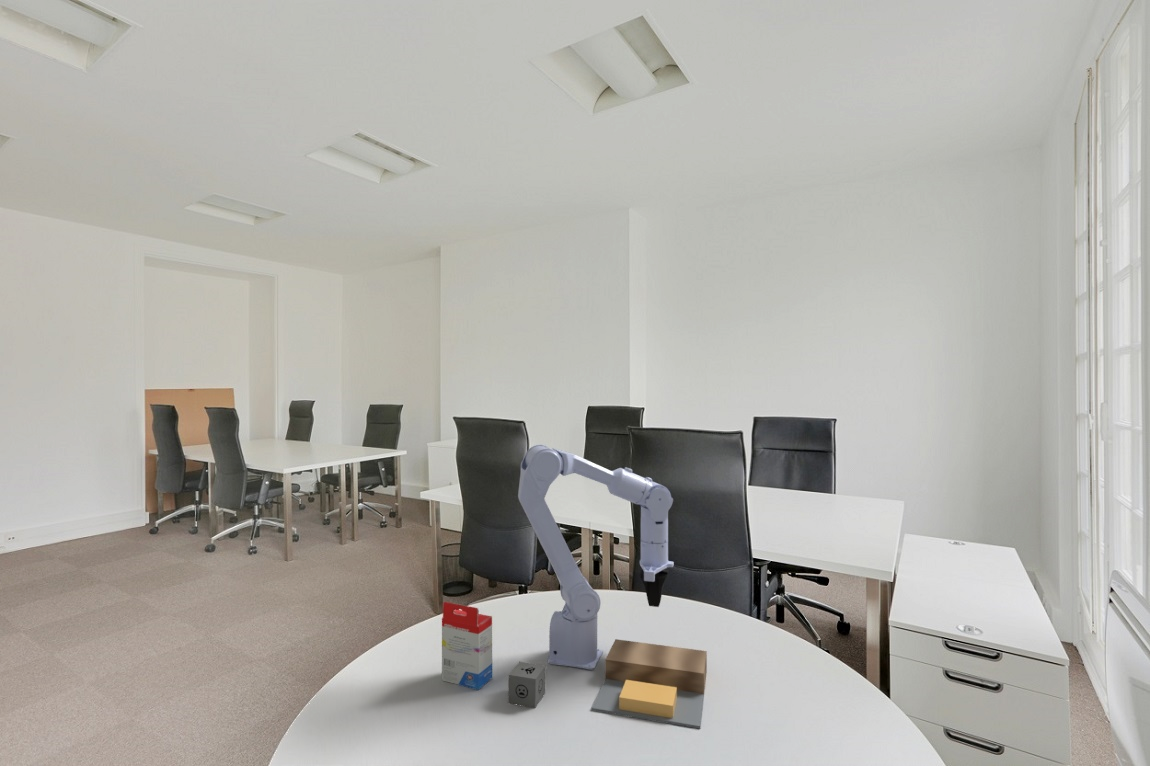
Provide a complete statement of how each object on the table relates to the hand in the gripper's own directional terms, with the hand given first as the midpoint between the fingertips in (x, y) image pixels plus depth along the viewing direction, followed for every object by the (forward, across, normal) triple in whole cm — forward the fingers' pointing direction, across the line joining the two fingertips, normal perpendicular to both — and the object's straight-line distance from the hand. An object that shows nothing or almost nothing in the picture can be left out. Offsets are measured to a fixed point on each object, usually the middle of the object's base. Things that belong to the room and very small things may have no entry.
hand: (654, 605), depth 115 cm
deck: (+9, -10, -2) cm, 14 cm away
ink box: (+10, -22, +32) cm, 40 cm away
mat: (+9, -20, -2) cm, 22 cm away
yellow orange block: (+7, -21, -2) cm, 22 cm away
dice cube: (+10, -25, +19) cm, 33 cm away
